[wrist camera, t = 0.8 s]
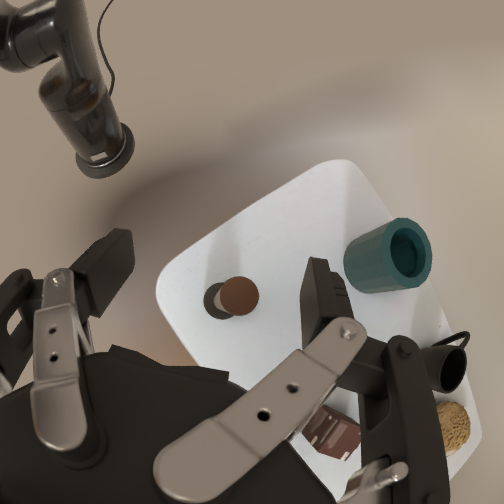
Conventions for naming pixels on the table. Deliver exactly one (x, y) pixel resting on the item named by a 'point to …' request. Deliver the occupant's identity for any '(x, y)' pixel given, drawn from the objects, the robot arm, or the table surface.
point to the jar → (389, 258)
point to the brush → (231, 298)
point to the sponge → (453, 425)
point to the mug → (446, 363)
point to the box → (333, 433)
